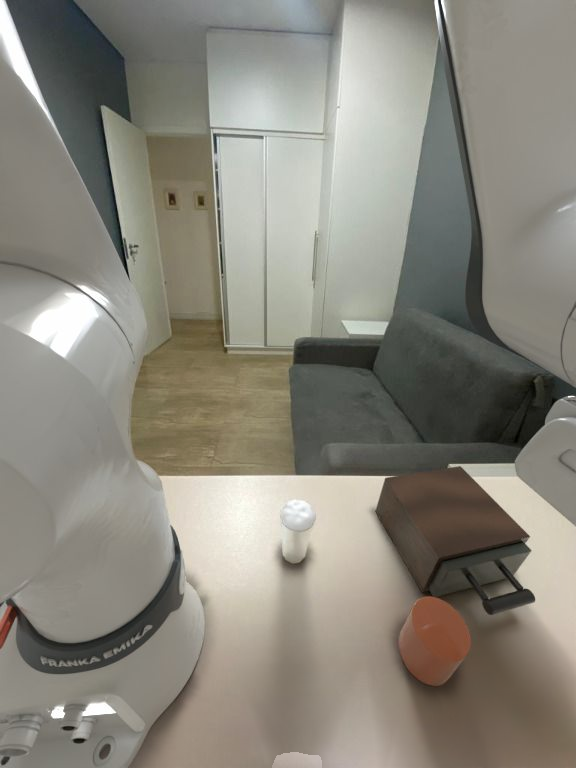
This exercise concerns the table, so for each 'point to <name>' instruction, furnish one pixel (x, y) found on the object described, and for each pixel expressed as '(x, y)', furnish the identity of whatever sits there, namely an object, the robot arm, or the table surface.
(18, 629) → the robot arm
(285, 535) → the milkshake
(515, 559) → the drawer
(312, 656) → the table surface
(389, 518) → the cabinet
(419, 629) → the orange cylinder puck
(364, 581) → the table surface
